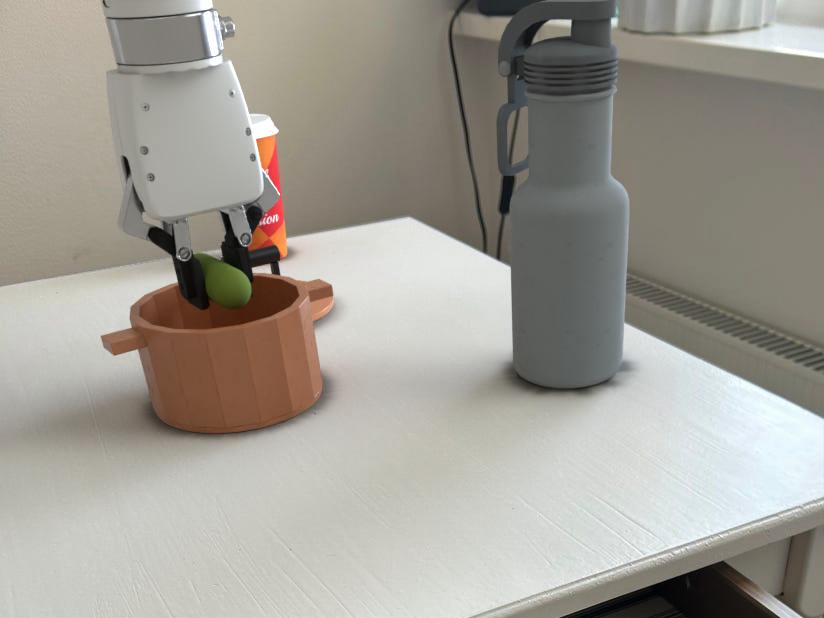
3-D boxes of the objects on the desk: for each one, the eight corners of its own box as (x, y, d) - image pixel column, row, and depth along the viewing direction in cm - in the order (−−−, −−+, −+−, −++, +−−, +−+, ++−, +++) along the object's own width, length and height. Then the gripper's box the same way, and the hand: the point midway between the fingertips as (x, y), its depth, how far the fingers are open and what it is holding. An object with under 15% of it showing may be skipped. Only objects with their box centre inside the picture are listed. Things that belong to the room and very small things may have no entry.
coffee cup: (217, 265, 118) (189, 127, 109) (246, 245, 124) (221, 112, 115) (282, 267, 116) (258, 126, 107) (308, 246, 122) (287, 112, 113)
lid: (362, 315, 102) (354, 250, 98) (224, 354, 95) (210, 286, 91) (291, 280, 112) (281, 220, 108) (162, 314, 105) (147, 251, 101)
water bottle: (489, 379, 87) (474, 6, 70) (540, 342, 93) (537, -8, 76) (593, 399, 83) (604, 6, 65) (639, 358, 89) (660, -9, 72)
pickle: (261, 308, 79) (254, 268, 77) (225, 318, 78) (216, 277, 76) (215, 283, 85) (207, 245, 83) (181, 292, 83) (172, 253, 81)
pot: (379, 389, 86) (367, 293, 81) (165, 460, 77) (137, 357, 72) (300, 344, 96) (285, 255, 91) (101, 403, 87) (72, 307, 82)
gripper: (246, 27, 76) (287, 267, 87) (35, 54, 69) (108, 313, 80) (292, 32, 71) (328, 287, 83) (69, 62, 64) (142, 337, 75)
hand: (220, 297), depth 81 cm, fingers closed on pickle, 3 cm apart
